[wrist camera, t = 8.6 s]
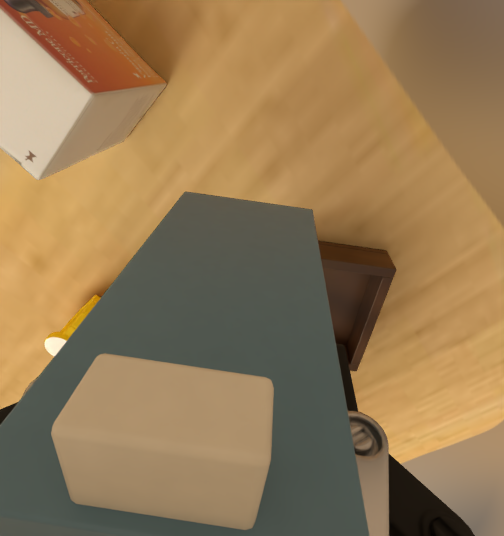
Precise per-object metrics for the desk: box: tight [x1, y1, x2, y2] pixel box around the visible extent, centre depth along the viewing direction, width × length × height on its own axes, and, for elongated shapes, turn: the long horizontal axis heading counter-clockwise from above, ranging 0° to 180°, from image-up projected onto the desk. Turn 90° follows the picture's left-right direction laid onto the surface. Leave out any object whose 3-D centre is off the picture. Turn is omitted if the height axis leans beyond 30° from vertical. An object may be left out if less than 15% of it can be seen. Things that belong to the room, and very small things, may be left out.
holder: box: [318, 241, 396, 371], centre depth 30 cm, size 11×8×3 cm
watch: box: [44, 295, 100, 356], centre depth 32 cm, size 6×3×6 cm, turn 134°
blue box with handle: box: [0, 192, 369, 536], centre depth 10 cm, size 4×11×10 cm, turn 173°
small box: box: [0, 0, 167, 180], centre depth 19 cm, size 8×6×10 cm
